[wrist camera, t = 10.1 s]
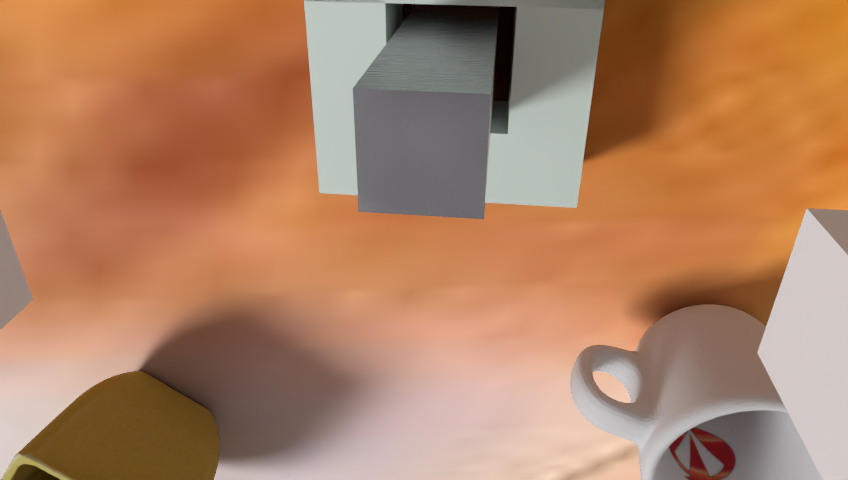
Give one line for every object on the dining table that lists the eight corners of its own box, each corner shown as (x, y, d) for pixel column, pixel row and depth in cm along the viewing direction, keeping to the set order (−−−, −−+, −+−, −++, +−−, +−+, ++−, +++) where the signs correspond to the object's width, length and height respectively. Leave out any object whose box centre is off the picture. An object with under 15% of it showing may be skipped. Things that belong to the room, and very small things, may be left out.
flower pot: (123, 327, 35) (14, 453, 28) (258, 408, 37) (191, 547, 29) (69, 414, 39) (-40, 545, 32) (193, 483, 41) (120, 623, 33)
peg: (417, 2, 25) (352, 88, 15) (499, 5, 25) (490, 93, 15) (417, 83, 27) (358, 211, 16) (494, 86, 27) (483, 218, 16)
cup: (539, 374, 34) (547, 503, 27) (592, 248, 30) (617, 360, 23) (738, 425, 34) (797, 565, 27) (818, 305, 30) (911, 434, 23)
